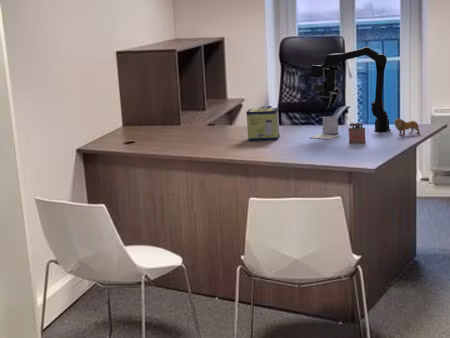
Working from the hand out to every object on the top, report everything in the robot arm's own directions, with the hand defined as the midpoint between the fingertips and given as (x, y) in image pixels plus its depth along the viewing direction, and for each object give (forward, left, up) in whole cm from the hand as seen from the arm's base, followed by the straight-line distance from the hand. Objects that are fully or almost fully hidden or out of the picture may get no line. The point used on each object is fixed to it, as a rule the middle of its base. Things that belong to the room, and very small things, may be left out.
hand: (328, 108), depth 377 cm
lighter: (-29, +20, -13) cm, 37 cm away
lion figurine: (-41, -7, -13) cm, 44 cm away
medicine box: (-3, +4, -13) cm, 14 cm away
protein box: (+23, +27, -13) cm, 38 cm away
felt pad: (-5, +12, -13) cm, 18 cm away
